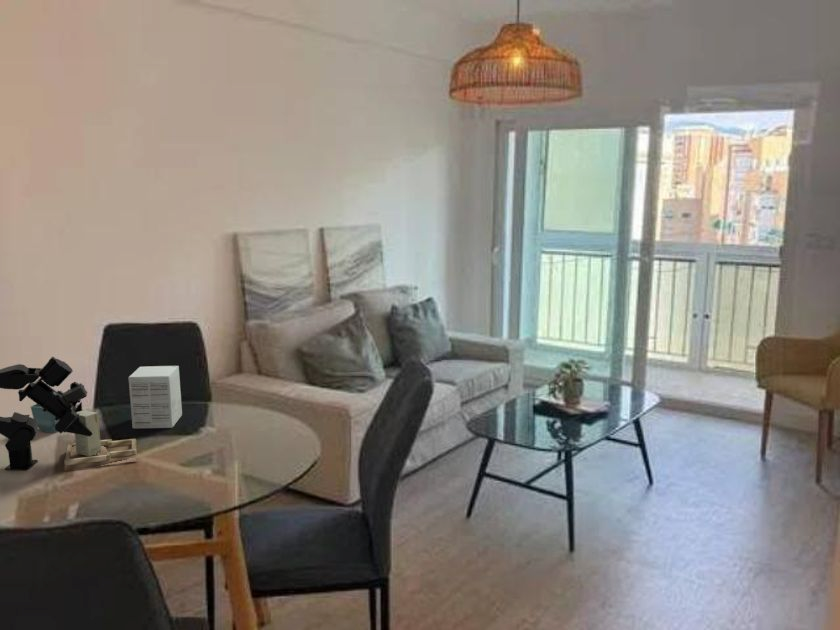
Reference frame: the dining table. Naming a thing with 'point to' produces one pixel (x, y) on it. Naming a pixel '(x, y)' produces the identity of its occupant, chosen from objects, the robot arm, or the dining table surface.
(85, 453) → the skincare box
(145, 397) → the supplement box
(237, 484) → the dining table surface
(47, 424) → the flower pot
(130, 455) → the keyhole guide
